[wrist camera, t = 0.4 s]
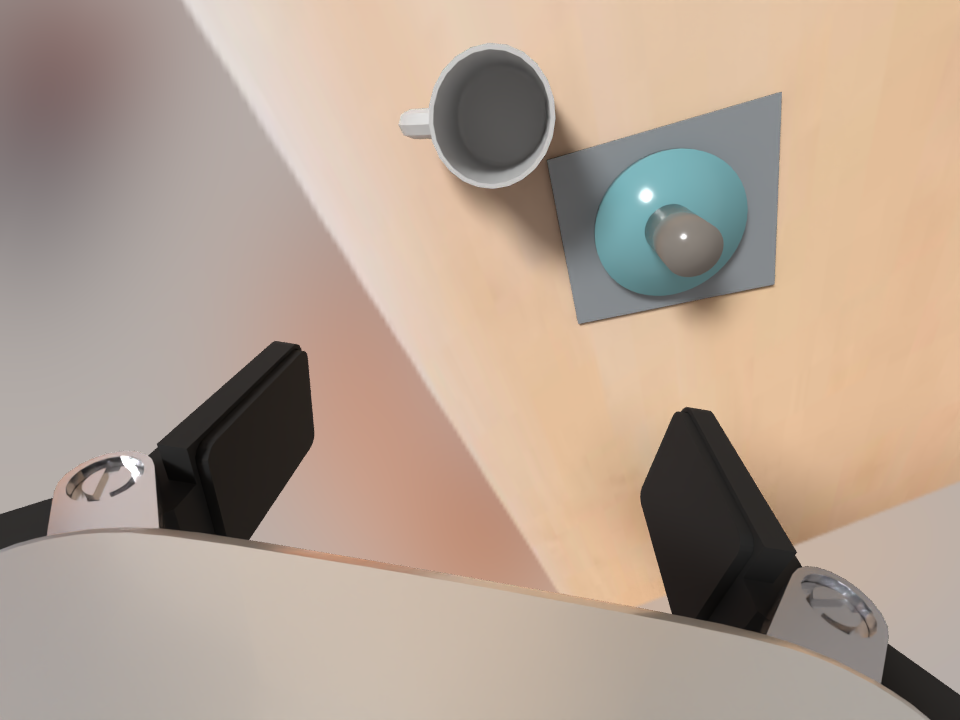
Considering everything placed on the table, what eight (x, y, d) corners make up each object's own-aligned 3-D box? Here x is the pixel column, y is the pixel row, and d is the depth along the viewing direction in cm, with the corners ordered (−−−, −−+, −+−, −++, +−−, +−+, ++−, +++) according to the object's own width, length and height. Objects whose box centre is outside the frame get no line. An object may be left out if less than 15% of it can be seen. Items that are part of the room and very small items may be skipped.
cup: (549, 168, 34) (553, 186, 26) (423, 173, 35) (391, 192, 27) (552, 55, 30) (558, 37, 22) (411, 65, 31) (371, 51, 24)
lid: (741, 127, 31) (793, 132, 24) (741, 274, 36) (784, 308, 29) (583, 171, 33) (594, 186, 27) (603, 302, 38) (617, 340, 32)
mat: (778, 92, 30) (781, 92, 29) (772, 282, 36) (774, 284, 36) (546, 160, 33) (547, 160, 33) (577, 322, 40) (578, 323, 39)
